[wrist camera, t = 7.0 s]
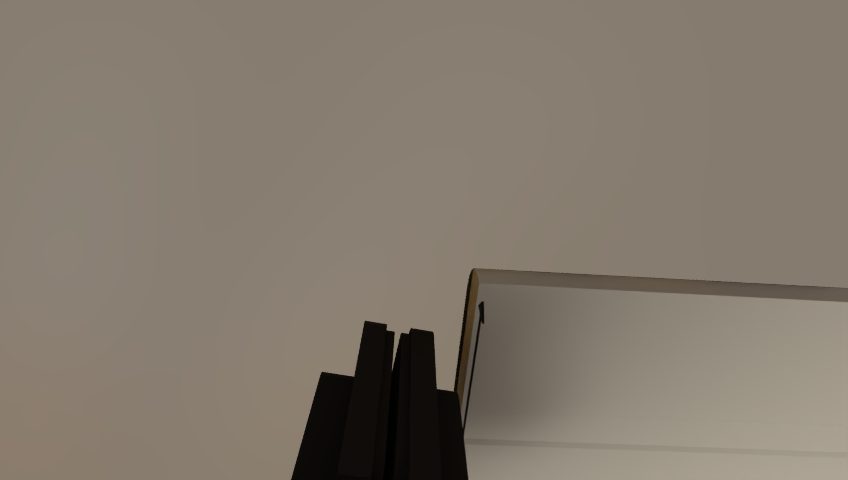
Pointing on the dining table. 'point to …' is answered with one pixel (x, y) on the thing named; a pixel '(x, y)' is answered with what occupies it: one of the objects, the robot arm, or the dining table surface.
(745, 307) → the baseboard molding
